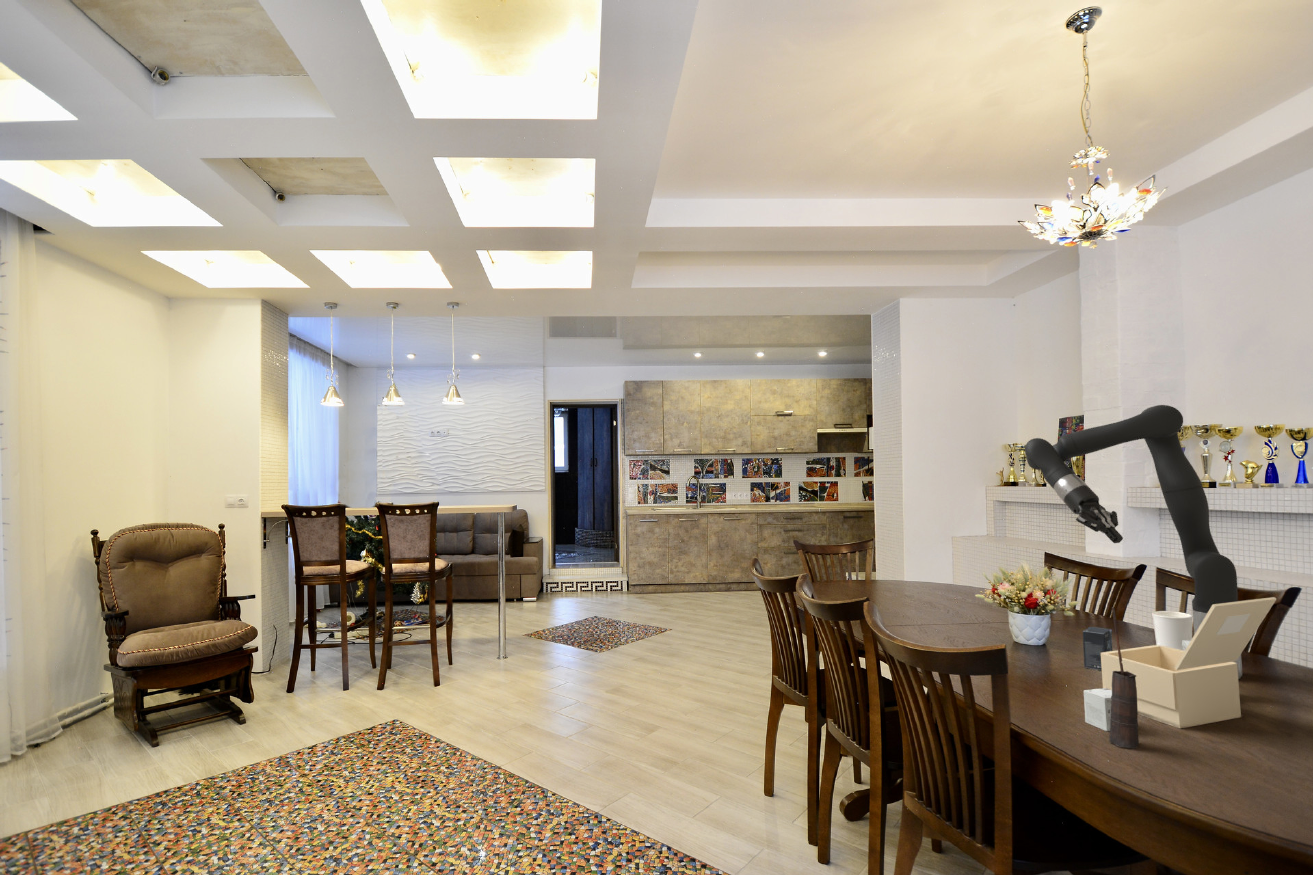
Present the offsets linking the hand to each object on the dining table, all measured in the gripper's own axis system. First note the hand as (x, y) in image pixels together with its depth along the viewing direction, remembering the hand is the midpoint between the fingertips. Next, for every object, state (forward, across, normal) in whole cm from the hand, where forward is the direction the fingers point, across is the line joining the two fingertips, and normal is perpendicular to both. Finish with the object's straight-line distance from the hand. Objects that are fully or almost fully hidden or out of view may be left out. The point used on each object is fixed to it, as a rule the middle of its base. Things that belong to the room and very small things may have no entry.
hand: (1119, 541), depth 180 cm
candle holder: (+15, +40, +39) cm, 58 cm away
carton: (+38, -7, +16) cm, 42 cm away
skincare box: (+40, -29, +14) cm, 51 cm away
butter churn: (+47, -35, +7) cm, 59 cm away
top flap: (+33, -7, -8) cm, 34 cm away
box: (+16, +9, +38) cm, 42 cm away
